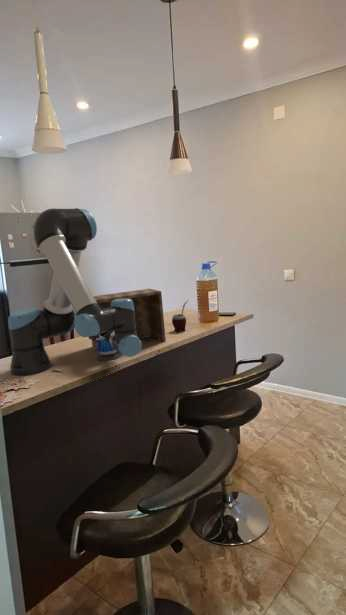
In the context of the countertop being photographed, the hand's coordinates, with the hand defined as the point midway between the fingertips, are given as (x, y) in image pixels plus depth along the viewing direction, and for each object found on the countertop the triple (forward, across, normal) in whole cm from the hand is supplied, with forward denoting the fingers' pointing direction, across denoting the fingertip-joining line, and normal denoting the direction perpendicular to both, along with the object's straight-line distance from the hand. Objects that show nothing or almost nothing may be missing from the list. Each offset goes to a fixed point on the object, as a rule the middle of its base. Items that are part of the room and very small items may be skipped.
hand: (102, 329), depth 172 cm
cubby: (+10, +14, -11) cm, 21 cm away
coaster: (-5, 0, -11) cm, 12 cm away
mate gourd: (+18, +44, -11) cm, 49 cm away
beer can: (-5, 0, -9) cm, 10 cm away
